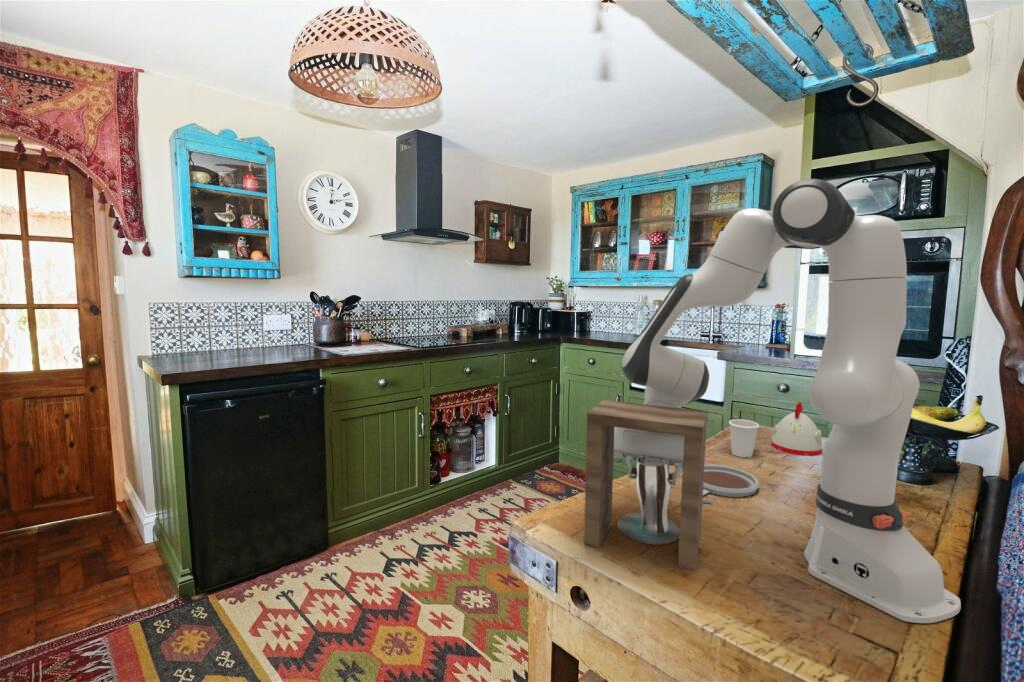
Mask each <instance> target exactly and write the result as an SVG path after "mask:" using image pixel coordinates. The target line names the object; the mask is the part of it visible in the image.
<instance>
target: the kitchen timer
mask: <svg viewBox="0 0 1024 682" xmlns="http://www.w3.org/2000/svg"><path fill="white" fill-rule="evenodd" d="M822 442H823V439H822V433H821V429H818V427H817V425H816V424H815V422H814V421H813V420H812V419H811V418H810V417H809V416H808V415H806V414H805V413H803V404H802V402H800V401H798V402H797V403H796V406H795V409H794V412H790V413H789V414H787V415H785V416H784V417H783V418H782V419H781V420H780V421H779V422H778V423H777V424H774V429H773V431H772V438H771V447H772V446H773V447H774V448H773V447H772V448H773V449H775V448H776V449H775V450H777V451H779V450H780V451H779V452H782V453H786V454H788V455H789V454H790V455H794V456H803V457H816V456H819V455H822V454H823V446H822V445H823V443H822Z"/></svg>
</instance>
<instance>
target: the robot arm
mask: <svg viewBox="0 0 1024 682" xmlns="http://www.w3.org/2000/svg"><path fill="white" fill-rule="evenodd" d="M772 206H773V207H772V210H765V209H761V208H757V207H755V208H753V207H750V208H743V209H741V210H739V211H737V212H736V213H734V214H733V216H732V217H731V219H730V220H729V221H728V223H727V224H726V225H725V226H724V228H723V230H722V231H721V233H720V234H719V236H718V237H717V239H716V241H715V243H714V245H713V247H712V249H711V250H710V253H709V254H708V257H707V258H706V260H705V261H704V263H703V264H702V265H701V266H700V267H699V268H698V269H697V270H695V271H694V272H693V273H689V274H684V275H683V276H681V278H679V279H678V280H677V282H676V283H675V284H674V285H673V286H672V287H671V289H670V290H669V292H668V293H667V295H666V296H665V297H664V298H663V300H662V302H661V303H660V305H658V307H657V309H656V310H655V311H654V313H653V315H652V316H651V317H650V319H649V320H648V322H647V323H646V325H645V326H644V328H643V329H642V331H641V332H640V333H639V335H638V336H637V337H636V338H635V340H634V341H633V342H632V343H631V344H630V346H629V347H628V348H627V349H626V351H625V352H624V355H623V358H622V362H621V370H622V372H623V374H624V376H625V377H626V380H627V381H628V382H629V383H631V384H635V385H638V386H642V387H644V394H643V395H644V401H643V403H642V404H645V405H654V406H663V407H673V408H682V407H683V406H684V405H689V404H692V403H693V402H696V401H698V400H700V399H701V398H702V397H703V396H704V395H705V394H706V393H707V390H708V386H709V381H710V371H709V368H708V366H707V364H706V362H705V361H704V360H702V359H700V358H698V357H695V356H693V355H690V354H688V353H685V352H681V351H678V350H676V349H675V350H674V349H673V348H669V347H667V346H665V345H662V344H661V342H662V341H663V339H664V338H665V336H666V335H667V334H668V332H669V330H670V329H671V327H673V325H674V323H676V321H677V319H678V318H679V317H680V315H682V314H683V313H684V312H686V311H688V310H691V309H692V310H693V309H695V308H696V309H697V308H705V307H708V308H709V307H711V308H713V307H715V308H716V307H717V308H719V307H721V308H723V307H724V308H725V307H730V306H735V305H738V304H740V303H742V302H745V301H747V299H749V298H750V297H752V296H753V294H754V292H755V291H756V290H757V288H758V286H759V285H760V283H761V281H762V280H763V277H764V276H765V275H764V274H765V273H766V271H767V270H768V268H769V266H770V264H771V262H772V259H773V258H774V257H775V255H776V254H777V253H778V252H779V251H780V250H781V249H783V248H784V249H803V250H815V249H822V250H823V251H824V252H825V254H826V257H827V260H828V309H827V311H828V315H827V317H828V318H827V327H826V328H827V329H826V335H825V337H824V338H825V339H824V344H823V348H822V351H821V355H820V360H819V365H818V368H817V371H816V374H815V375H814V377H813V379H811V382H810V384H809V388H808V399H809V402H810V405H811V407H812V409H813V410H814V412H815V413H816V414H818V416H819V417H821V418H822V419H823V420H826V421H827V422H829V423H831V424H832V428H831V430H830V433H829V434H828V437H827V439H826V440H825V442H824V444H823V446H822V461H821V471H820V472H821V473H820V482H819V484H818V485H817V487H816V488H817V489H816V496H815V504H816V514H815V520H814V523H813V529H812V530H811V535H810V538H809V540H808V543H807V546H806V547H805V549H804V551H803V556H804V558H805V560H806V561H807V564H808V566H807V571H808V572H807V573H809V574H810V575H811V576H812V577H814V578H816V579H819V580H820V581H823V582H824V583H827V584H829V585H830V586H833V587H834V588H837V589H838V590H841V591H843V592H844V593H847V594H849V595H850V596H852V597H854V598H856V599H859V600H860V601H863V602H864V603H867V604H869V605H871V606H873V607H874V608H876V609H878V610H880V611H881V612H884V613H887V614H888V615H890V616H892V617H894V618H896V619H898V620H900V621H903V622H907V623H915V624H933V623H934V624H935V623H938V621H939V622H942V620H943V621H946V620H949V619H951V618H953V617H955V616H956V615H958V614H959V613H960V612H961V608H962V606H961V605H962V602H961V598H960V597H959V596H957V595H956V594H954V593H953V592H951V591H950V590H947V589H946V588H945V584H944V576H943V570H942V567H941V564H940V563H939V561H937V559H936V558H935V557H933V555H931V554H930V552H929V551H928V550H927V549H926V548H925V547H924V546H923V545H922V544H921V543H920V542H919V541H918V539H916V538H915V536H914V535H912V533H910V531H909V530H908V529H907V528H906V527H905V525H904V524H905V523H904V520H907V519H909V518H911V516H909V515H911V513H912V512H911V511H905V512H901V510H900V508H899V505H898V503H897V500H896V499H895V496H896V486H897V478H898V471H899V470H898V468H899V463H900V457H901V452H902V448H903V445H904V442H905V438H906V435H907V432H908V428H909V425H910V421H911V417H912V413H913V408H914V404H915V401H916V398H917V396H918V395H919V391H920V386H921V385H920V379H919V376H918V375H917V373H916V371H915V369H914V368H912V367H911V366H910V365H909V364H907V363H906V362H904V361H902V360H899V359H897V358H896V357H897V354H898V349H899V346H900V341H901V337H902V335H903V333H904V330H905V328H906V324H907V296H908V295H907V291H908V290H907V287H908V285H907V283H908V278H907V277H908V274H907V273H908V272H907V271H908V270H907V269H908V268H907V267H908V265H907V256H906V248H905V242H904V238H903V235H902V228H901V227H900V224H899V223H898V222H897V221H895V220H894V219H893V218H890V217H887V216H883V215H879V214H877V215H876V214H871V215H870V214H867V215H857V214H856V212H855V210H854V209H853V207H852V206H851V205H850V203H849V202H848V200H847V199H846V198H845V197H844V195H843V194H842V192H841V191H840V190H839V189H838V188H837V187H836V186H835V185H833V184H832V183H831V182H829V181H827V180H824V179H820V178H819V179H818V178H806V179H801V180H798V181H796V182H794V183H792V184H790V185H788V186H787V187H786V188H784V189H783V190H781V192H780V194H779V195H778V196H777V197H776V199H775V202H774V204H773V205H772ZM683 455H684V436H680V435H672V434H665V433H657V432H650V431H642V430H635V429H627V428H620V427H614V455H613V458H617V459H623V460H625V461H626V465H627V467H628V473H627V474H628V475H627V476H628V478H629V479H635V480H636V467H633V466H632V465H633V464H634V463H635V461H636V459H637V458H638V457H640V456H645V457H652V458H659V459H664V458H667V459H668V460H669V467H670V466H671V467H674V471H673V472H672V473H671V472H670V479H669V482H670V486H671V485H672V486H675V485H676V480H677V478H678V477H679V476H680V475H681V474H682V473H683ZM705 465H706V461H705V462H704V467H705ZM948 618H949V619H948ZM945 619H946V620H945Z"/></svg>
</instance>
